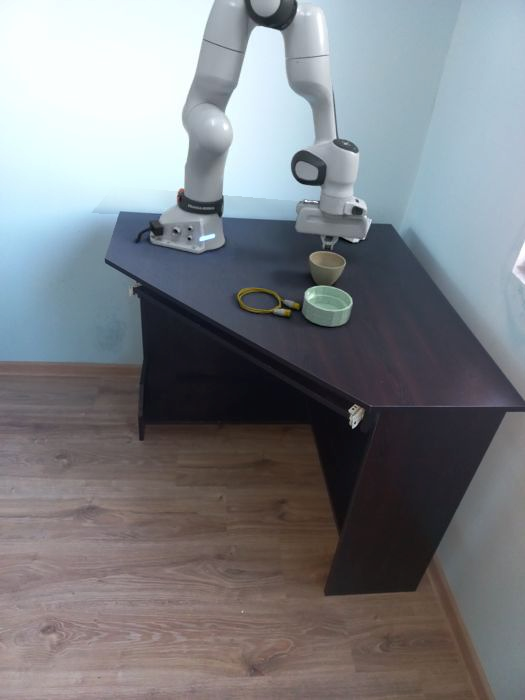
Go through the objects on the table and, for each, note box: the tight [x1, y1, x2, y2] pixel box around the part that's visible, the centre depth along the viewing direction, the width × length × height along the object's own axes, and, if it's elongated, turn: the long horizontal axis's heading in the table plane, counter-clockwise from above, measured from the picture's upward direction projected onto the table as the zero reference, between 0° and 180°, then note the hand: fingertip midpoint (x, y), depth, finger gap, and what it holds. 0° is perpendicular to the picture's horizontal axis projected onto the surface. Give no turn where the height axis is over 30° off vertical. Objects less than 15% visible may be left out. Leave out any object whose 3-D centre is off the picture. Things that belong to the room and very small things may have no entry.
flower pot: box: [308, 250, 347, 287], centre depth 148 cm, size 10×10×7 cm
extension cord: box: [236, 287, 301, 318], centre depth 136 cm, size 12×16×2 cm
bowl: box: [301, 285, 354, 328], centre depth 135 cm, size 12×12×5 cm
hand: (327, 248), depth 155 cm, fingers closed
